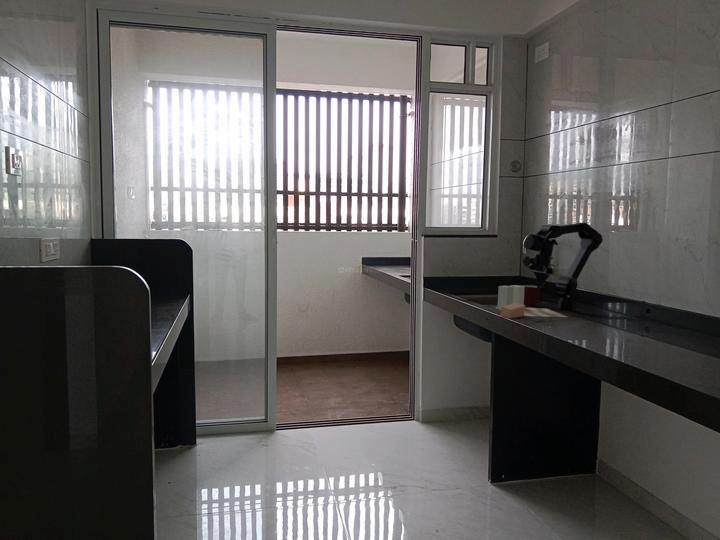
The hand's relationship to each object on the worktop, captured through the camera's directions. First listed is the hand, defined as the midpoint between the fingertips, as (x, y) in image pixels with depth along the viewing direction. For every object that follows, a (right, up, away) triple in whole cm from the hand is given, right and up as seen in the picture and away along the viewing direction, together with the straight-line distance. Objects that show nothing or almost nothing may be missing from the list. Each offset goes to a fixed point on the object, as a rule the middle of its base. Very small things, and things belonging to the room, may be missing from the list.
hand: (538, 288), depth 245 cm
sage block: (-14, -9, +2) cm, 17 cm away
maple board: (-5, -11, -3) cm, 12 cm away
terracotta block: (-12, -8, -14) cm, 20 cm away
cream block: (-8, -9, +5) cm, 13 cm away
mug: (+2, -10, +16) cm, 19 cm away
